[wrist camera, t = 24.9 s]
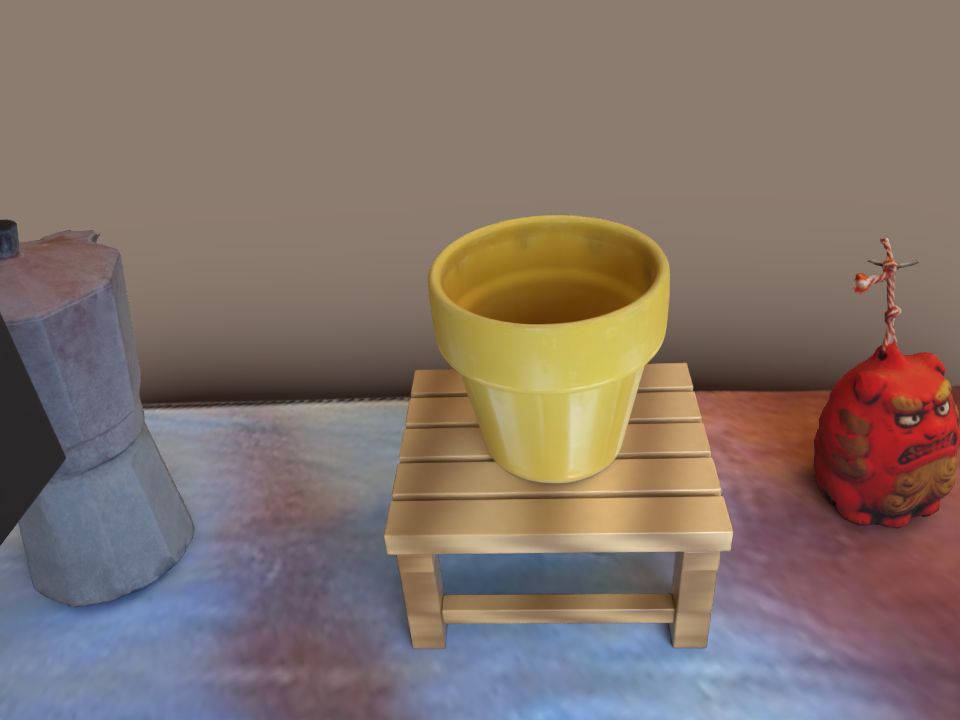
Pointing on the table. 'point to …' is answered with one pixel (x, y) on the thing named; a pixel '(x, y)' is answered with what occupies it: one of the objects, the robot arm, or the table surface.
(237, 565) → the table surface
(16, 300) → the moka pot
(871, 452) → the red clay folk toy
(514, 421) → the flower pot
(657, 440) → the plant rack
